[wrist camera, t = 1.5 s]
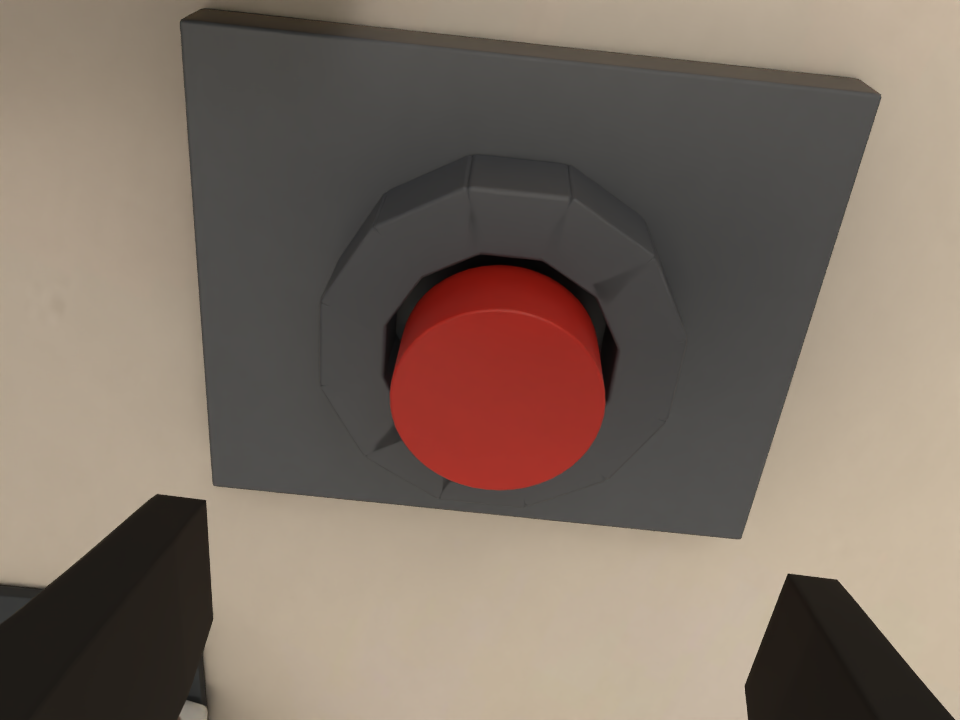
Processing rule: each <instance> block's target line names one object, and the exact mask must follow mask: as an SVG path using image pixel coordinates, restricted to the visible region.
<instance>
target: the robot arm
mask: <svg viewBox="0 0 960 720" xmlns="http://www.w3.org/2000/svg"><path fill="white" fill-rule="evenodd" d="M212 621H213V608H212V592H211V575H210V558H209V542H208V525H207V508H206V500H200V499H192V498H184V497H176V496H168V495H160V494H157V495H155V496H154V497H152V498H151V499H150V500H148V501H147V502H146V503H145V504H144V505H142V506H141V507H140V508H139V509H138V510H137V511H135V512H134V513H133V514H132V515H131V516H130V517H128V518H127V519H126V520H125V521H124V522H123V523H121V524H120V525H119V526H118V527H117V528H116V529H115V530H113V531H112V532H111V533H110V534H109V535H108V536H107V537H105V538H104V539H103V540H102V541H101V542H100V543H98V544H97V545H96V546H95V547H94V548H93V549H91V550H90V551H89V552H88V553H87V554H86V555H84V556H83V557H82V558H81V559H80V560H78V561H77V562H76V563H75V564H74V565H73V566H71V567H70V568H69V569H68V570H67V571H65V572H64V573H63V574H62V575H61V576H59V577H58V578H57V579H56V580H54V581H53V582H52V583H51V584H50V585H48V586H47V587H46V588H45V589H43V590H42V591H41V592H40V593H38V594H37V595H36V596H35V597H34V598H32V599H31V600H30V601H29V602H27V603H26V604H25V605H24V606H23V607H21V608H20V609H19V610H18V611H16V612H15V613H14V614H13V615H11V616H10V617H9V618H7V619H6V620H5V621H4V622H2V623H1V624H0V720H178V717H179V715H180V713H181V711H182V708H183V706H184V704H185V702H186V699H187V697H188V695H189V692H190V689H191V686H192V683H193V680H194V677H195V674H196V671H197V668H198V665H199V662H200V659H201V656H202V653H203V650H204V646H205V643H206V640H207V637H208V634H209V631H210V628H211V624H212ZM745 694H746V703H747V712H748V720H955V719H954V718H953V717H952V716H951V714H950V713H949V712H948V711H947V710H946V709H945V708H944V706H943V705H942V704H941V703H940V702H939V701H938V699H937V698H936V697H935V696H934V695H933V694H932V692H931V691H930V690H929V689H928V688H927V687H926V685H925V684H924V683H923V682H922V681H921V679H920V678H919V677H918V676H917V675H916V674H915V672H914V671H913V670H912V669H911V668H910V666H909V665H908V664H907V663H906V662H905V660H904V659H903V658H902V657H901V655H900V654H899V653H898V652H897V651H896V649H895V648H894V647H893V646H892V645H891V643H890V642H889V641H888V640H887V639H886V637H885V636H884V635H883V634H882V633H881V631H880V630H879V629H878V628H877V626H876V625H875V624H874V623H873V622H872V620H871V619H870V618H869V617H868V616H867V614H866V613H865V612H864V611H863V610H862V608H861V607H860V606H859V605H858V603H857V602H856V601H855V600H854V599H853V598H852V596H851V595H850V594H849V593H848V592H847V590H846V589H845V588H844V587H843V586H842V585H841V584H840V582H839V581H838V580H834V579H827V578H819V577H811V576H803V575H795V574H788V575H787V577H786V580H785V582H784V585H783V588H782V590H781V593H780V595H779V598H778V601H777V603H776V606H775V608H774V611H773V614H772V616H771V619H770V621H769V624H768V627H767V629H766V632H765V634H764V637H763V639H762V642H761V645H760V647H759V650H758V652H757V655H756V658H755V660H754V663H753V665H752V668H751V671H750V673H749V676H748V678H747V681H746V684H745Z"/></svg>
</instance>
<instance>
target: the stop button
mask: <svg viewBox="0 0 960 720" xmlns="http://www.w3.org/2000/svg"><path fill="white" fill-rule="evenodd" d="M605 404H606V402H605V387H604V381H603V374H602V367H601V360H600V354H599V347H598V341H597V336H596V331H595V328H594V326H593V323H592V320H591V318H590V316H589V315H588V313H587V311H586V309H585V308H584V307H583V305H582V304H581V303H580V301H579V300H578V299H577V298H576V297H575V296H574V295H573V294H572V293H571V292H570V291H569V290H568V289H566V288H565V287H564V286H563V285H561V284H560V283H558V282H557V281H555V280H553V279H552V278H550V277H548V276H546V275H543V274H541V273H539V272H536V271H533V270H530V269H526V268H522V267H516V266H510V265H489V266H480V267H475V268H470V269H467V270H464V271H461V272H458V273H456V274H454V275H452V276H450V277H448V278H445V279H444V280H442V281H441V282H439V283H438V284H436V285H435V286H434V287H432V288H431V289H430V290H429V291H428V292H427V293H425V295H424V296H423V297H422V298H421V299H420V300H419V301H418V303H417V304H416V305H415V307H414V309H413V310H412V312H411V313H410V316H409V318H408V320H407V322H406V325H405V328H404V332H403V335H402V339H401V343H400V347H399V351H398V355H397V359H396V364H395V368H394V372H393V376H392V380H391V386H390V408H391V414H392V418H393V421H394V424H395V427H396V429H397V431H398V433H399V435H400V437H401V439H402V441H403V442H404V443H405V445H406V446H407V448H408V449H409V450H410V451H411V453H412V454H413V455H414V456H415V457H416V458H417V459H418V460H419V461H420V462H422V463H423V464H424V465H425V466H426V467H428V468H429V469H431V470H432V471H434V472H435V473H437V474H438V475H440V476H442V477H444V478H446V479H448V480H451V481H453V482H456V483H458V484H461V485H465V486H469V487H473V488H479V489H485V490H514V489H520V488H526V487H530V486H533V485H537V484H540V483H543V482H545V481H548V480H550V479H552V478H554V477H556V476H558V475H560V474H561V473H563V472H564V471H566V470H567V469H569V468H570V467H572V466H573V465H574V464H575V463H576V462H577V461H578V460H579V459H580V458H581V457H582V456H583V455H584V454H585V453H586V452H587V450H588V449H589V448H590V446H591V445H592V443H593V442H594V440H595V438H596V437H597V434H598V432H599V430H600V428H601V425H602V421H603V417H604V412H605Z"/></svg>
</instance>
